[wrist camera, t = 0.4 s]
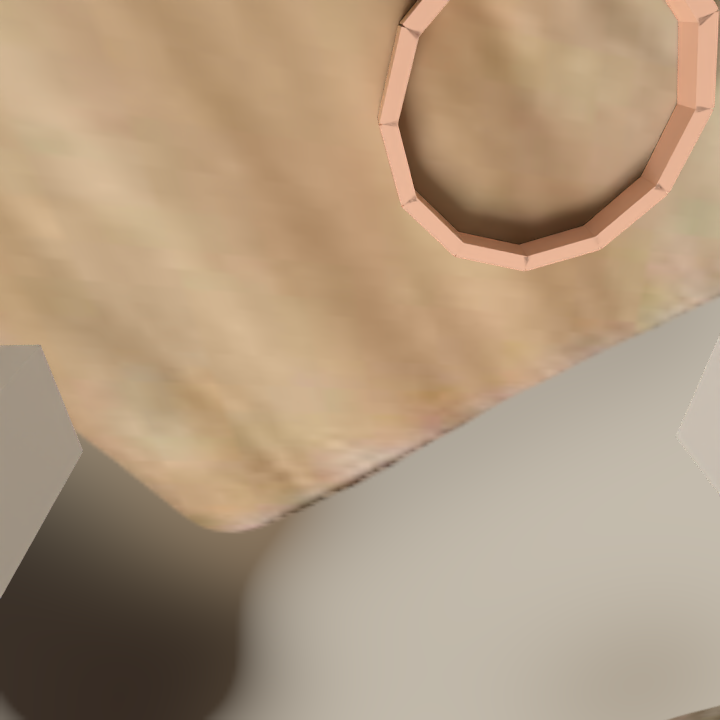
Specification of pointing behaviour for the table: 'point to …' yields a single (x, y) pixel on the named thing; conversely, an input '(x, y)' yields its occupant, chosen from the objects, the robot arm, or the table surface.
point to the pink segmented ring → (665, 164)
